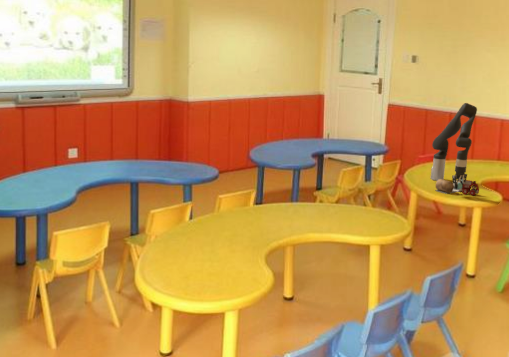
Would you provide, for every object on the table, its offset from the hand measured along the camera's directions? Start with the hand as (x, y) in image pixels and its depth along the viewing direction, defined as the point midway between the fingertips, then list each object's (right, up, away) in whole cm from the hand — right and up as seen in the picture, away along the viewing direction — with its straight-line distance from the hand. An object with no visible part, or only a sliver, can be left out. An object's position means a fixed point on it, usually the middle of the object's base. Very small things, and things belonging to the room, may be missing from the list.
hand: (458, 188), depth 468 cm
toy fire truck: (+10, -5, +6) cm, 13 cm away
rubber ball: (0, -1, 0) cm, 1 cm away
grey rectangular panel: (-1, -2, +15) cm, 15 cm away
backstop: (+4, -1, +19) cm, 20 cm away
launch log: (-7, -2, +12) cm, 14 cm away
